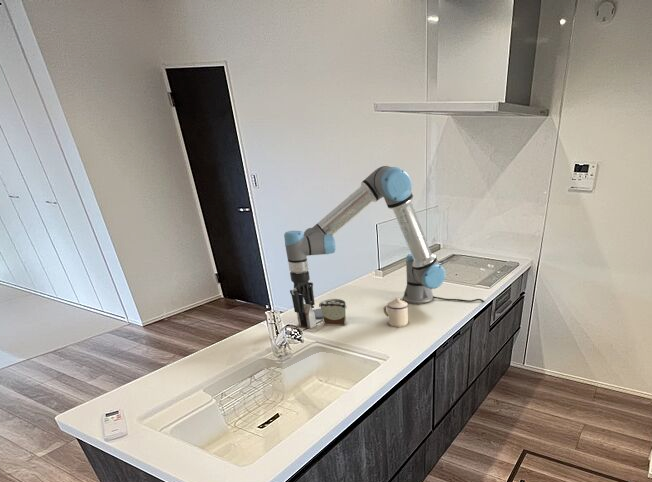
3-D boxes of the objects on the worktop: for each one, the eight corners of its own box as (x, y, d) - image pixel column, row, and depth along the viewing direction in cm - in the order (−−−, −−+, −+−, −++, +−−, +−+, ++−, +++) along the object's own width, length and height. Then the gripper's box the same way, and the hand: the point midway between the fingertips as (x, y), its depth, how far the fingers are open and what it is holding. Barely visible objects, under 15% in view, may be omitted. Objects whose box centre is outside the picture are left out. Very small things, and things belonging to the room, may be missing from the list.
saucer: (337, 312, 204) (336, 310, 204) (324, 320, 196) (324, 317, 195) (317, 309, 207) (316, 307, 207) (304, 316, 199) (303, 314, 198)
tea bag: (304, 322, 192) (301, 301, 187) (316, 325, 190) (313, 303, 184) (298, 325, 190) (295, 303, 184) (310, 328, 187) (307, 306, 182)
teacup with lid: (412, 321, 195) (411, 297, 189) (401, 328, 188) (400, 302, 182) (389, 317, 200) (388, 292, 194) (378, 323, 193) (377, 298, 187)
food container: (351, 320, 196) (349, 299, 190) (348, 325, 190) (346, 303, 185) (325, 319, 196) (322, 297, 191) (321, 324, 191) (318, 302, 186)
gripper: (303, 265, 185) (311, 316, 197) (278, 275, 171) (288, 330, 183) (318, 266, 183) (325, 318, 195) (294, 277, 169) (303, 332, 181)
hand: (307, 324), depth 189 cm, fingers closed on tea bag, 4 cm apart
